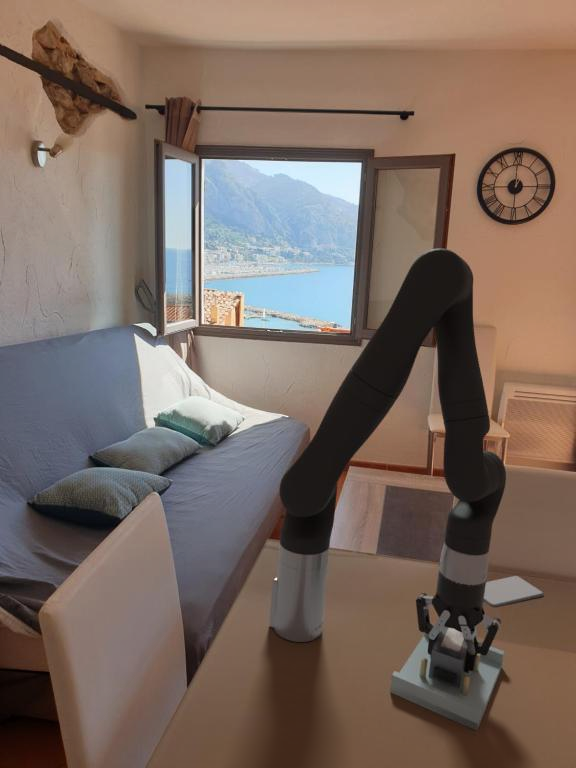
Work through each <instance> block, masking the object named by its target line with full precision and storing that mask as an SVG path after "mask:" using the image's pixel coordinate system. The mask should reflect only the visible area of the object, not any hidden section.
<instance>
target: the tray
mask: <svg viewBox="0 0 576 768" xmlns="http://www.w3.org/2000/svg"><path fill="white" fill-rule="evenodd" d="M432 625H433V626H434V625H435V624H432ZM440 631H441V630H440ZM439 633H440V632H439ZM428 643H429V636H428V635H427V634H426V633H425V632H423V636H422V638H421V639H420V641H419V642H418V643H417V645H416V647H415V648H414V650H413V652H411V655H410V656H409V657H408V659H407V660H406V662H405V664H404V666H402V668H401V670H400V671H399V672H398V671H396V670H395V671H394V670H393V673H392V674H391V681H390V688H389V689H390V690H389V693H391V694H393V695H396V696H397V697H400V698H402V699H404V700H407V701H409V702H411V703H412V704H413V703H414V704H416V705H418V706H419V707H422V708H425V709H427V710H429V711H431V712H434V713H436V714H438V715H440V716H442V717H444V718H447V719H448V720H452V721H454V722H455V723H458V724H461V725H463V726H465V727H467V728H470V729H472V730H474V731H478V730H479V726H480V724H481V722H482V719H483V716H484V714H485V711H486V709H487V706H488V704H489V702H490V698H492V694H493V691H494V689H495V686H496V683H497V681H498V678H499V676H500V674H501V671H502V669H503V663H504V658H505V650H502V649H499V648H496V647H493V646H492V645H491V646H490V648H489V651H488V653H487V655H485V656H484V655H482V654H477V659H476V665H475V667H474V669H473V671H469V673H466V672H465V673H464V676H463V680H462V683H461V686H460V689H459V688H456V687H453V686H450V685H448V684H445V683H442V682H439V681H437V680H434V679H431V678H429V669H430V662H431V659H430V656H431V655H429V654H428Z"/></svg>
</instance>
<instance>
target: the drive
mask: <svg viewBox="0 0 576 768" xmlns="http://www.w3.org/2000/svg"><path fill="white" fill-rule="evenodd" d="M467 652H468V649H467V645H466V641H464V638H463V634H462V632H459V631H457V630H455V629H454V628H448V627H445V625H444V626H443V627H442V629H441V631H440V633H439V635H438V638H437V640H436V642H435V644H434V647H433V649H432V654H431V662H430V669H429V678H431V679H434V680H437V681H439V682H442V683H445V684H448V685H450V686H453V687H456V688H459V689H460V686H461V683H462V680H463V676H464V673H465V672H464V670H465V663H466V656H467Z"/></svg>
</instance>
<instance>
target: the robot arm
mask: <svg viewBox="0 0 576 768" xmlns="http://www.w3.org/2000/svg"><path fill="white" fill-rule="evenodd" d="M474 325H475V324H474V274H473V270H472V269H471V267H470V265H469V264H468V263H467V261H465V260H464V258H462V257H461V256H460V255H458V254H457V253H456V252H454V251H453V250H450V249H449V248H433V249H430V250H428V251H426V252H424V253H422V254H421V255H420V256H418V257H417V258H416V260H414V261H413V263H412V264H411V267H410V268H409V269H408V272H407V274H406V276H405V277H404V280H403V281H402V284H401V286H400V288H399V290H398V291H397V294H396V296H395V298H394V300H393V303H392V304H391V307H390V308H389V310H388V312H387V314H386V316H385V317H384V319H383V320H382V322H381V323H380V325H379V326H378V328H377V329H376V330H375V332H374V334H373V335H372V336H371V338H370V339H369V340H368V342H367V344H366V346H365V347H364V348H363V350H362V352H361V353H360V355H359V356H358V358H357V360H355V362H354V364H353V365H352V366H351V367H350V370H349V371H348V373H347V374H346V375H345V377H344V380H343V381H342V382H341V383H340V386H339V388H338V390H337V391H336V393H335V395H334V397H333V398H332V401H331V402H330V404H329V406H328V408H327V409H326V411H325V413H324V415H323V418H322V420H321V423H319V426H318V429H317V430H316V431H315V432H316V433H315V434H314V435H313V437H312V439H311V441H310V442H309V444H308V445H307V446H306V448H305V449H304V450H303V451H302V453H301V454H300V455H299V457H298V458H297V460H296V461H295V462H293V464H292V465H290V467H289V468H288V469H287V470H286V472H285V473H283V475H282V477H281V479H280V484H279V498H280V502H281V504H282V506H283V508H284V509H285V513H284V516H283V517H284V518H283V521H282V524H281V527H280V532H279V533H280V534H279V546H278V547H279V548H278V557H277V558H278V559H277V561H278V562H277V575H276V577H274V578H273V579H272V582H271V595H270V596H271V597H270V608H269V609H270V612H269V623H268V625H269V627H270V628H272V629H273V630H274V631H275V633H276V634H277V635H278V636H279V637H281V638H283V639H284V640H287V641H291V642H296V643H306V642H307V643H308V642H311V641H314V640H315V639H318V637H320V636H321V634H322V632H323V624H324V614H325V613H324V611H325V602H326V589H327V577H328V566H329V556H330V545H331V537H332V531H333V528H334V524H335V513H336V506H337V505H336V503H337V496H338V495H337V494H338V482H339V480H340V478H341V476H342V474H343V473H344V471H345V470H346V467H347V466H348V464H349V463H350V461H351V459H352V458H353V457H354V456H355V455H356V454H357V452H358V451H359V450H360V449H361V447H362V446H363V445H364V444H365V443H366V442H367V440H368V439H369V438H370V437H371V436H372V434H374V432H375V430H377V428H378V426H380V424H381V423H382V421H384V419H385V418H386V416H387V415H388V413H389V412H390V411H391V409H392V408H393V406H394V404H395V403H396V401H397V400H398V399H399V397H400V395H401V393H403V390H404V389H405V387H406V384H407V382H408V381H409V379H410V374H411V372H412V369H413V367H414V364H415V361H416V359H417V356H418V354H419V352H420V351H419V350H420V349H421V346H422V345H423V343H424V341H425V339H426V338H427V337H428V335H429V333H430V332H431V330H432V329H433V331H434V335H435V336H434V337H435V342H436V350H437V351H436V352H437V388H438V389H437V390H438V396H439V403H440V404H439V405H440V410H441V415H442V420H443V425H444V430H445V431H444V441H443V459H442V460H443V461H442V462H443V463H442V464H443V468H442V469H443V475H444V480H445V483H446V485H447V488H448V490H449V491H450V493H451V494H452V495H453V496H454V497H455V498H456V499H458V501H457V503H456V504H455V506H454V507H453V508H452V509H451V510H450V512H448V516H447V519H446V523H445V524H446V525H445V532H444V540H443V544H442V545H443V546H442V549H441V553H440V559H439V563H438V566H439V569H438V574H437V583H436V589H435V590H436V592H435V595H434V596H430V595H428V594H427V593H425V592H422V593H420V594H419V595H418V596H417V598H416V600H415V606H416V615H417V617H416V618H417V624H418V630H419V632H420V633H424V632H425V633H426V634H427V635H428V636H429V643H428V654H429V655H431V654H432V649H433V647H434V644H435V642H436V640H437V638H438V635H439V632H440V630H441V629H442V627H443V626H444V625H445V627H448V628H454V629H455V630H457V631H459V632H462V634H463V638H464V641H466V645H467V649H468V652H467V656H466V663H465V670H464V672H466V673H469V671H473V669H474V667H475V665H476V659H477V654H482V655H484V656H485V655H487V653H488V651H489V648H490V646H491V647H492V644H493V642H494V640H495V638H496V635H497V633H498V630H499V628H500V626H501V624H502V621H501V619H500V618H498V617H494V618H492V617H491V616H488V615H487V614H486V612H485V610H484V601H483V600H484V593H485V586H486V582H487V580H488V579H487V578H488V572H489V564H490V562H489V561H490V559H489V557H490V554H489V553H490V546H491V538H492V531H493V523H494V520H495V519H496V518H495V517H496V515H497V513H498V510H499V508H500V504H501V501H502V498H503V496H504V492H505V488H506V484H507V483H506V482H507V481H506V480H507V471H506V466H505V464H504V462H503V461H502V459H501V458H500V457H499V456H498V455H497V454H496V453H494V452H493V451H489V450H484V438H485V437H486V436H487V435H488V434H489V432H490V429H491V420H490V415H489V408H488V403H487V398H486V391H485V386H484V381H483V377H482V372H481V366H480V362H479V361H480V360H479V357H478V351H477V344H476V335H475V327H474ZM431 606H432V607H433V608H434V610H435V612H436V615H437V617H438V619H437V620H436V622H435V623H434V624H431V620H430V618H431V617H430V610H429V609H430V608H431ZM480 623H483V626H484V627H483V629H484V631H485V633H486V632H487V633H486V635H485V637H484V640H483V641H479V639H478V635H477V631H478V630H477V627H476V626H477V625H479V624H480ZM433 625H434V626H433ZM430 659H431V656H430Z"/></svg>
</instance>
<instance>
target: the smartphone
mask: <svg viewBox="0 0 576 768" xmlns="http://www.w3.org/2000/svg"><path fill="white" fill-rule="evenodd" d="M543 596H544V592H543V591H542V590H540V589H539V588H537V587H536V586H534V585H532V584H531V583H529V582H528V581H527V580H525V579H523V578H522V577H520V576H518V575H512V576H507V577H503V578H499V579H498V578H497V579H493V580H489V581H486V586H485V593H484V600H483V602H484V603H486V604H487V605H489V606H491V607H501V606H505V605H509V604H510V605H511V604H515V603H518V602H522V601H523V602H524V601H526V600H531V599H536V598H540V597H541V598H542V597H543Z"/></svg>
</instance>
